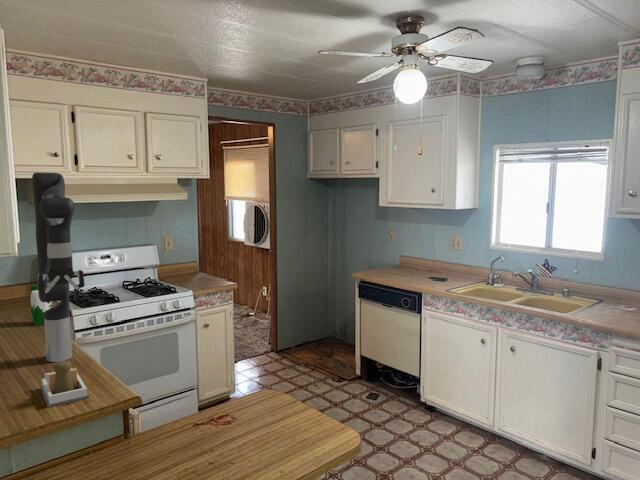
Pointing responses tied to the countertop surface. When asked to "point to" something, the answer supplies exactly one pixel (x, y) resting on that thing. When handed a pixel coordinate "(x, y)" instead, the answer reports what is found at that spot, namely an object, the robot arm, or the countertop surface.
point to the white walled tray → (64, 397)
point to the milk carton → (38, 307)
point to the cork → (63, 377)
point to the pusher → (53, 375)
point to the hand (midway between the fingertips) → (62, 301)
